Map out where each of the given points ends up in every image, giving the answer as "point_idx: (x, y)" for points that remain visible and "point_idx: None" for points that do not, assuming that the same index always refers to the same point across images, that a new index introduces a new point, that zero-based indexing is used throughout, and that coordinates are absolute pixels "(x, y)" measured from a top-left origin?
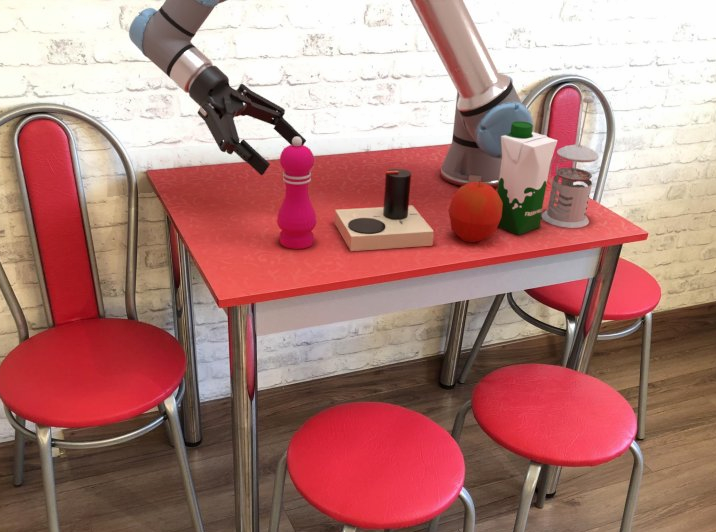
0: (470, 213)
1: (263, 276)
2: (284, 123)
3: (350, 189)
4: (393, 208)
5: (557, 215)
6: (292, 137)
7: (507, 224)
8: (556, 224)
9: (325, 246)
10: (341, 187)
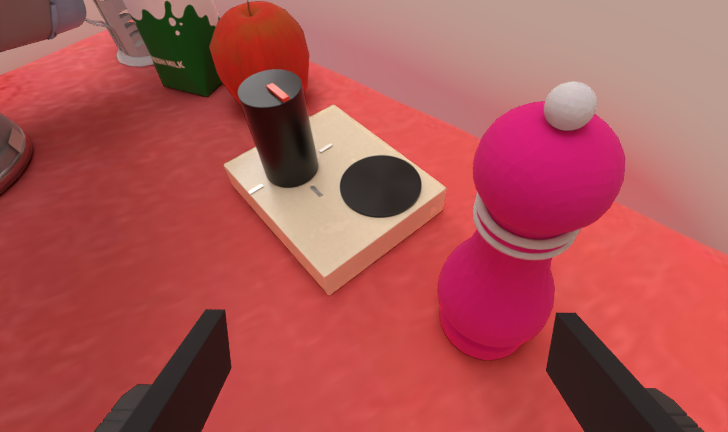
0: (304, 42)
1: (679, 290)
2: (162, 414)
3: (66, 373)
4: (314, 145)
5: None
6: (204, 378)
7: None
8: None
9: None
10: (51, 406)
